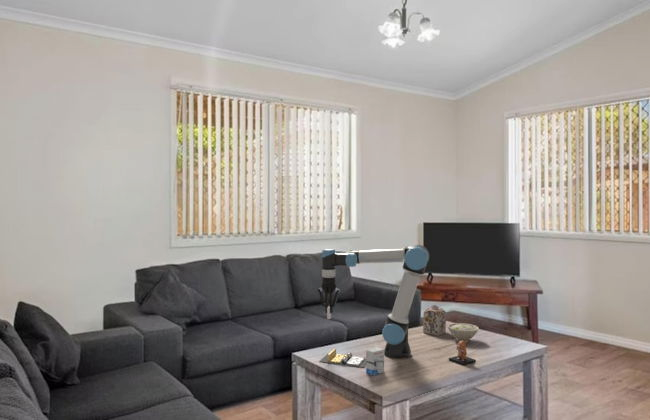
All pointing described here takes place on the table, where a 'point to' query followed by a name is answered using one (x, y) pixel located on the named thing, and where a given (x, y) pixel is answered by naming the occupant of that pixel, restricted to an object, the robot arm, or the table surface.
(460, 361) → the figurine
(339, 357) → the loose leaf
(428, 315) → the decorative jar
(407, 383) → the table surface
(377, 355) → the ink box
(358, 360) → the fixed leaf
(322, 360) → the grey two-tone fixture
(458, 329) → the bowl
